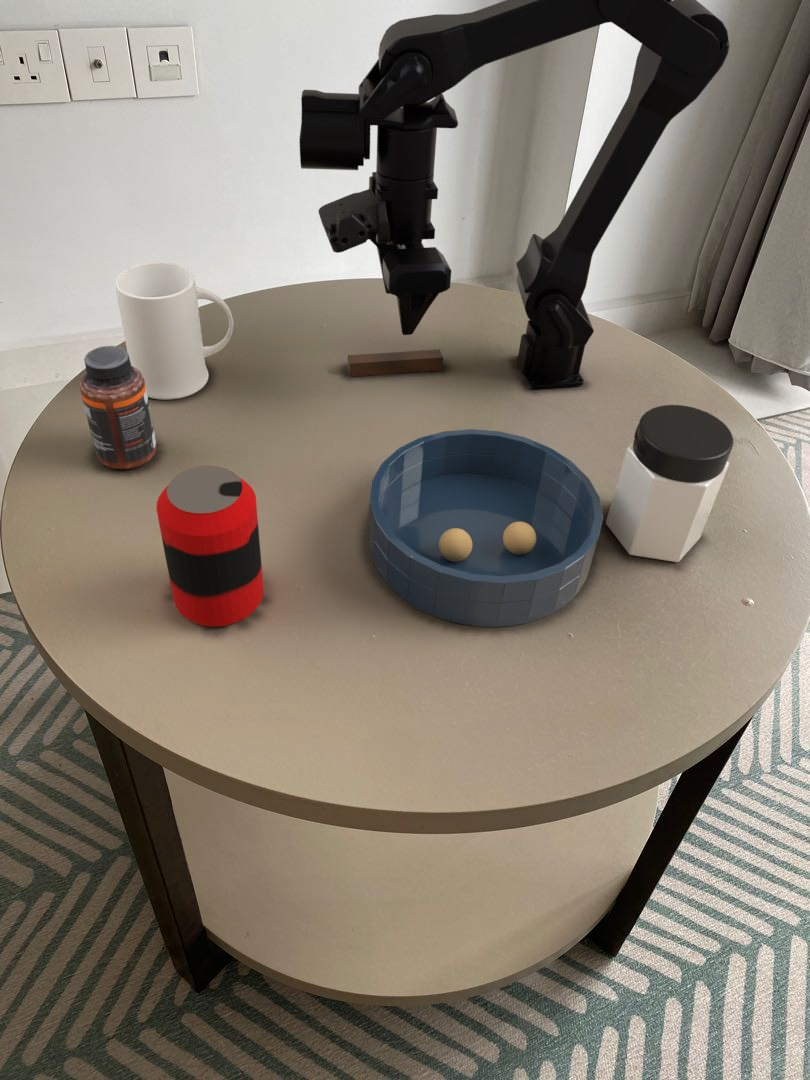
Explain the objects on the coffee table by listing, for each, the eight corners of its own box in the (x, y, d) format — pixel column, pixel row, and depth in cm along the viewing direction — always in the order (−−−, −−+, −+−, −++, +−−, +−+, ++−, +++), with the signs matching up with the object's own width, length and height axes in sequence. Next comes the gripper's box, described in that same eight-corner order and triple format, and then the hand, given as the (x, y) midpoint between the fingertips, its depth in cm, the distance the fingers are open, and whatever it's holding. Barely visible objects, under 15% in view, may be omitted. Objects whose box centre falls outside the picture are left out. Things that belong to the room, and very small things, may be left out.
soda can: (262, 628, 72) (252, 521, 64) (169, 630, 71) (147, 522, 63) (265, 563, 78) (257, 457, 69) (179, 565, 77) (160, 458, 69)
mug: (240, 358, 102) (231, 261, 93) (235, 400, 96) (226, 300, 87) (136, 358, 101) (118, 259, 92) (125, 400, 94) (105, 299, 86)
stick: (438, 362, 103) (440, 349, 102) (442, 370, 102) (443, 357, 101) (347, 368, 101) (347, 355, 100) (349, 377, 100) (349, 363, 99)
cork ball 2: (527, 537, 81) (532, 513, 79) (537, 559, 79) (543, 535, 77) (496, 540, 81) (501, 516, 79) (506, 563, 79) (510, 539, 76)
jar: (637, 490, 88) (668, 390, 80) (711, 528, 84) (751, 428, 76) (591, 534, 83) (619, 433, 75) (667, 577, 79) (706, 474, 71)
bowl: (548, 465, 90) (557, 421, 86) (624, 611, 76) (639, 567, 72) (352, 482, 86) (352, 438, 83) (392, 641, 72) (395, 595, 68)
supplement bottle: (168, 444, 89) (152, 347, 82) (137, 478, 85) (117, 380, 77) (117, 430, 91) (97, 334, 83) (84, 463, 86) (59, 365, 79)
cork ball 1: (465, 543, 80) (469, 519, 78) (474, 566, 78) (477, 542, 76) (434, 547, 80) (436, 523, 77) (441, 570, 77) (444, 546, 75)
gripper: (311, 138, 91) (315, 277, 102) (338, 212, 78) (339, 363, 89) (415, 136, 93) (408, 272, 104) (458, 207, 80) (445, 355, 91)
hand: (398, 312), depth 97 cm, fingers open, 9 cm apart
